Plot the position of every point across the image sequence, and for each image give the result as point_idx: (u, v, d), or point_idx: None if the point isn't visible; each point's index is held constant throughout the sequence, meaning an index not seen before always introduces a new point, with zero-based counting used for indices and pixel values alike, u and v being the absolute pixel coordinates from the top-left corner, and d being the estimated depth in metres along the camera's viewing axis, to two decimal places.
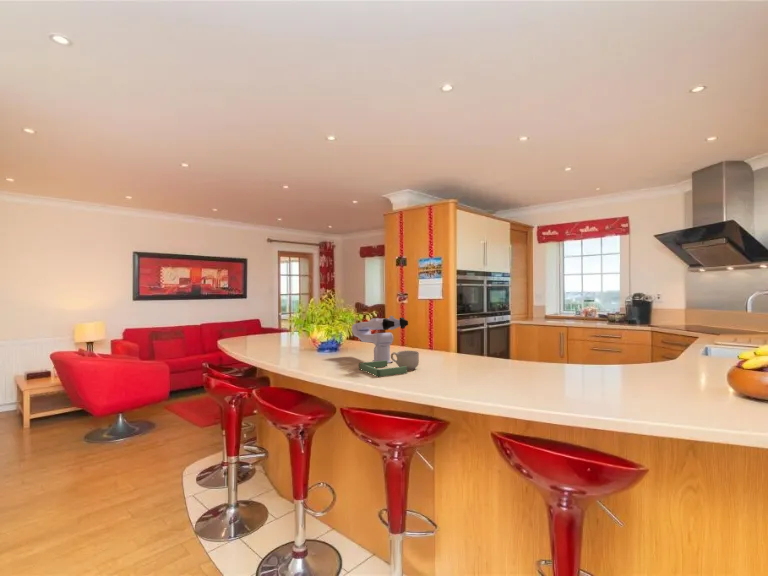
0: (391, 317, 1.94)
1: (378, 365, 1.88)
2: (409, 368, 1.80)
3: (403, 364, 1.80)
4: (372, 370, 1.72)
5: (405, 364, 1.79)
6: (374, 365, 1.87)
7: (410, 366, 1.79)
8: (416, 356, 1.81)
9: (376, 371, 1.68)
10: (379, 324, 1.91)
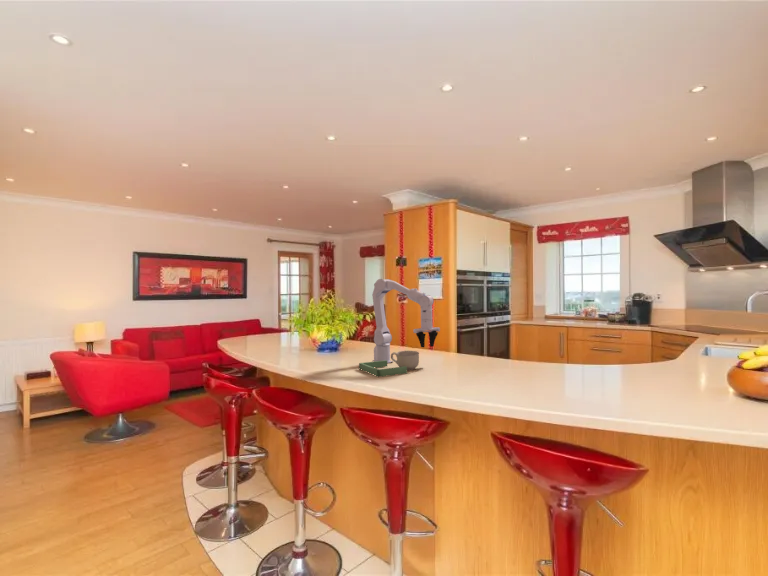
0: (430, 330, 1.88)
1: (378, 365, 1.88)
2: (409, 368, 1.80)
3: (403, 364, 1.80)
4: (372, 370, 1.72)
5: (405, 364, 1.79)
6: (374, 365, 1.87)
7: (410, 366, 1.79)
8: (416, 356, 1.81)
9: (376, 371, 1.68)
10: (414, 330, 1.88)
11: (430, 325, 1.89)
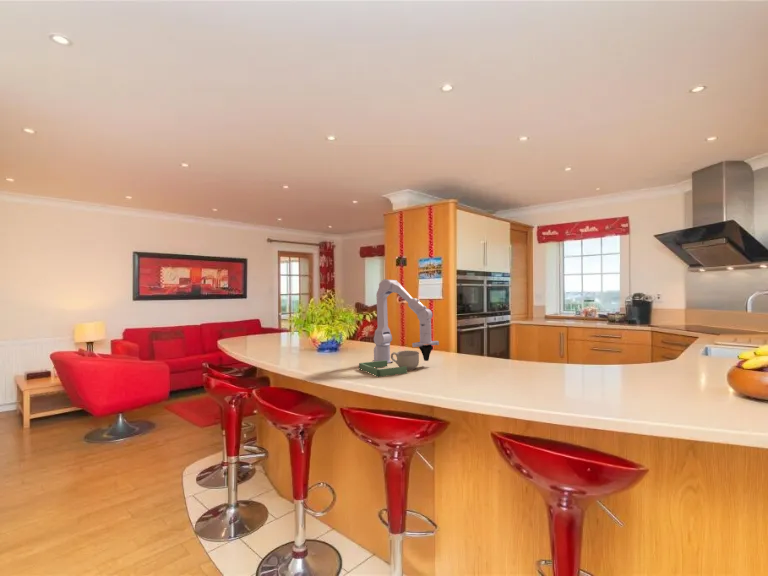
0: None
1: (378, 365, 1.88)
2: (409, 368, 1.80)
3: (403, 364, 1.80)
4: (372, 370, 1.72)
5: (405, 364, 1.79)
6: (374, 365, 1.87)
7: (410, 366, 1.79)
8: (416, 356, 1.81)
9: (376, 371, 1.68)
10: (413, 344, 1.87)
11: (429, 339, 1.88)
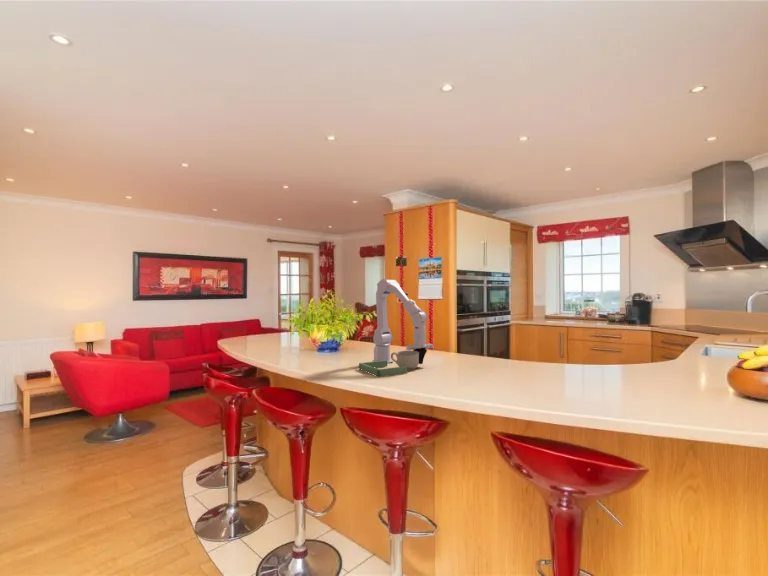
0: (423, 347, 1.86)
1: (378, 365, 1.88)
2: (409, 368, 1.80)
3: (403, 364, 1.80)
4: (372, 370, 1.72)
5: (405, 364, 1.79)
6: (374, 365, 1.87)
7: (410, 366, 1.79)
8: (416, 356, 1.81)
9: (376, 371, 1.68)
10: (407, 347, 1.86)
11: (423, 342, 1.87)
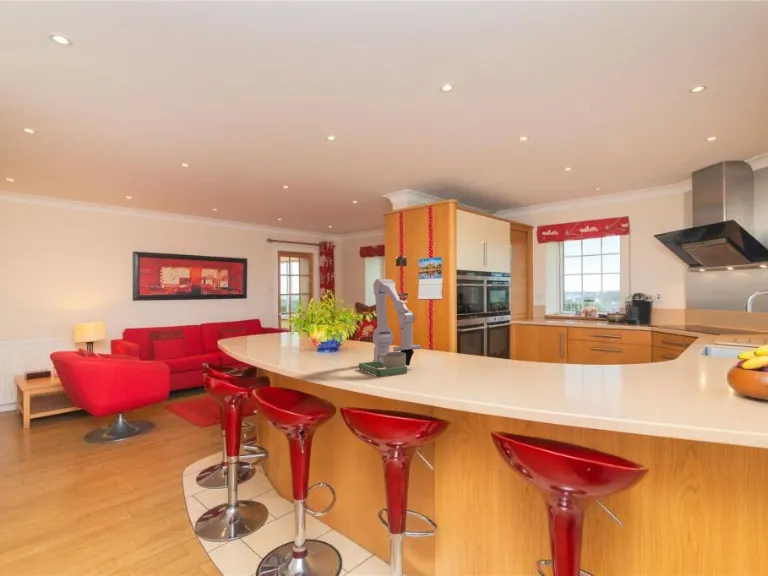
0: None
1: (378, 365, 1.88)
2: None
3: (389, 365, 1.76)
4: (372, 370, 1.72)
5: (391, 365, 1.76)
6: (374, 365, 1.87)
7: None
8: (403, 357, 1.77)
9: (376, 371, 1.68)
10: (394, 348, 1.82)
11: (410, 343, 1.83)
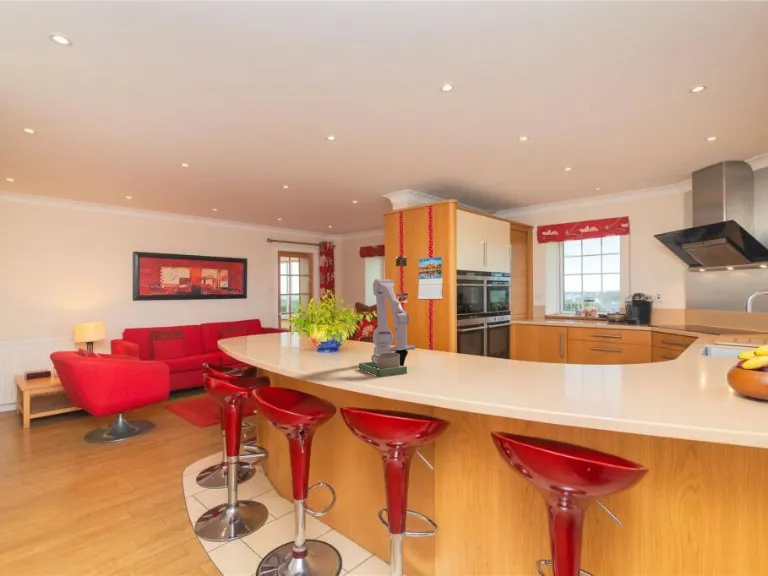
0: (404, 348, 1.81)
1: None
2: None
3: (383, 366, 1.75)
4: (372, 370, 1.72)
5: (385, 366, 1.74)
6: (374, 365, 1.87)
7: None
8: (396, 358, 1.76)
9: (376, 371, 1.68)
10: (387, 349, 1.81)
11: (404, 344, 1.82)
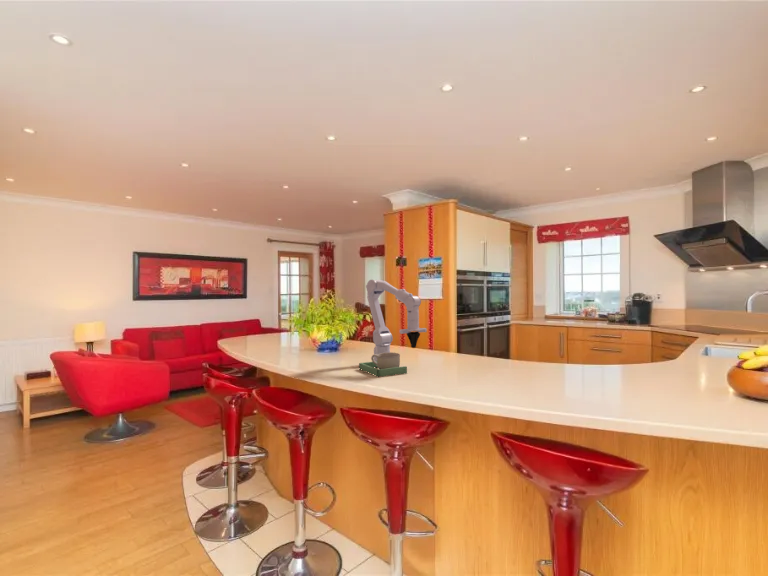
0: (416, 330, 1.87)
1: None
2: None
3: (383, 366, 1.75)
4: (372, 370, 1.72)
5: (385, 366, 1.74)
6: (374, 365, 1.87)
7: None
8: (396, 358, 1.76)
9: (376, 371, 1.68)
10: (400, 331, 1.87)
11: (416, 326, 1.88)
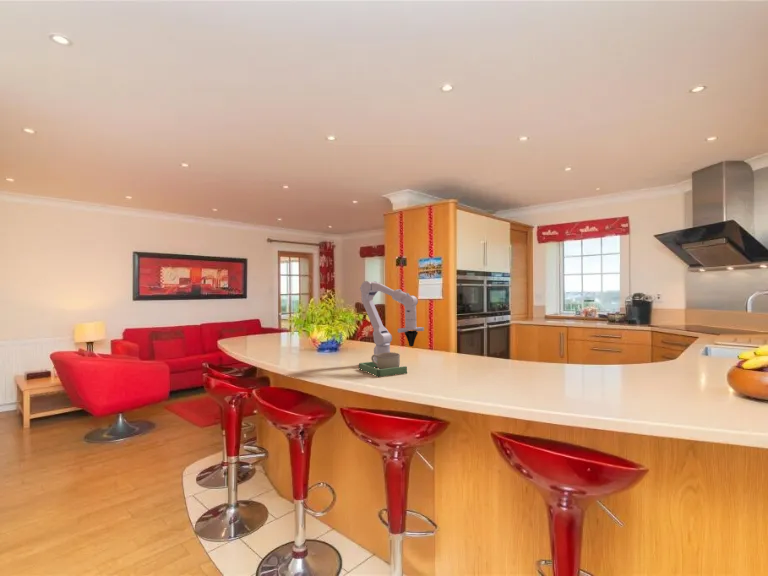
0: (413, 329, 1.92)
1: None
2: None
3: (383, 366, 1.75)
4: (372, 370, 1.72)
5: (385, 366, 1.74)
6: (374, 365, 1.87)
7: None
8: (396, 358, 1.76)
9: (376, 371, 1.68)
10: (398, 330, 1.92)
11: (414, 325, 1.93)
